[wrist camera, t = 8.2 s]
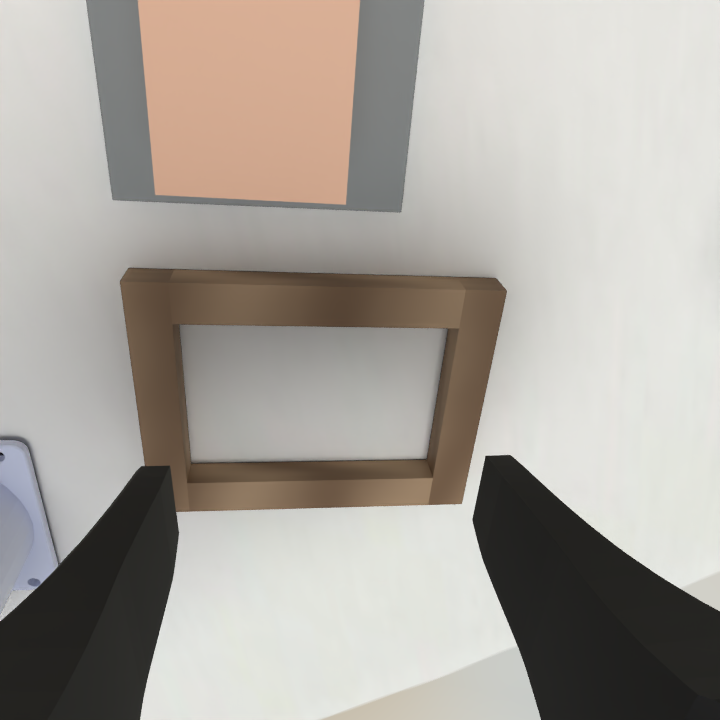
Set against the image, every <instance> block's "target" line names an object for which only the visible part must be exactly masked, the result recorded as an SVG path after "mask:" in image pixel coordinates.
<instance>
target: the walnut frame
mask: <svg viewBox="0 0 720 720" xmlns="http://www.w3.org/2000/svg"><path fill="white" fill-rule="evenodd" d="M120 285H121V293H122V300H123V307H124V315H125V322H126V329H127V337H128V344H129V351H130V359H131V366H132V373H133V381H134V388H135V395H136V403H137V410H138V417H139V425H140V432H141V440H142V447H143V454H144V462H145V466H169V465H170V468H171V476H172V484H173V492H174V499H175V507H176V512H188V511H224V510H260V509H296V508H332V507H368V506H404V505H440V504H462V500H463V496H464V491H465V486H466V482H467V477H468V472H469V467H470V463H471V458H472V453H473V449H474V444H475V439H476V435H477V430H478V425H479V420H480V416H481V411H482V406H483V402H484V397H485V392H486V388H487V383H488V378H489V373H490V369H491V364H492V359H493V355H494V350H495V345H496V340H497V336H498V331H499V326H500V322H501V317H502V312H503V308H504V303H505V298H506V293H507V290H506V289H505V288H504V287H503V286H502V284H501V283H500V282H499V281H498V280H497V279H496V278H469V277H433V276H396V275H360V274H324V273H287V272H251V271H214V270H178V269H142V268H128V270H127V271H126V273H125V274H124V276H123V278H122V279H121V281H120ZM179 324H188V325H255V326H322V327H389V328H448V334H447V340H446V346H445V352H444V358H443V364H442V370H441V376H440V383H439V389H438V395H437V401H436V407H435V413H434V419H433V425H432V431H431V437H430V443H429V449H428V455H427V460H381V461H322V462H263V463H204V464H191V457H190V445H189V434H188V422H187V411H186V399H185V388H184V376H183V365H182V353H181V342H180V330H179Z"/></svg>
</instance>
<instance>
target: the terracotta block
mask: <svg viewBox="0 0 720 720" xmlns="http://www.w3.org/2000/svg"><path fill="white" fill-rule="evenodd" d="M138 9H139V20H140V31H141V42H142V53H143V65H144V76H145V87H146V98H147V109H148V120H149V131H150V143H151V154H152V165H153V176H154V187H155V195H167V196H187V197H206V198H226V199H245V200H265V201H284V202H304V203H323V204H343V205H346V196H347V182H348V167H349V153H350V139H351V124H352V110H353V95H354V81H355V66H356V52H357V37H358V23H359V9H360V0H138Z"/></svg>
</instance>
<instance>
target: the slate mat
mask: <svg viewBox="0 0 720 720" xmlns="http://www.w3.org/2000/svg"><path fill="white" fill-rule="evenodd" d="M86 3H87V11H88V18H89V26H90V33H91V41H92V48H93V56H94V63H95V71H96V79H97V86H98V94H99V101H100V109H101V116H102V124H103V131H104V139H105V146H106V154H107V161H108V169H109V176H110V184H111V191H112V199H113V200H121V201H144V202H168V203H191V204H215V205H238V206H262V207H285V208H308V209H332V210H355V211H379V212H401V209H402V200H403V191H404V182H405V173H406V163H407V154H408V145H409V136H410V127H411V118H412V108H413V99H414V90H415V81H416V72H417V63H418V53H419V44H420V35H421V26H422V17H423V8H424V0H360V9H359V23H358V37H357V52H356V66H355V81H354V95H353V110H352V124H351V139H350V153H349V167H348V182H347V196H346V205H343V204H323V203H304V202H284V201H265V200H245V199H226V198H206V197H187V196H167V195H155V187H154V176H153V165H152V154H151V143H150V131H149V120H148V109H147V98H146V87H145V76H144V65H143V53H142V42H141V31H140V20H139V9H138V0H86Z"/></svg>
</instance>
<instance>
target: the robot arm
mask: <svg viewBox="0 0 720 720" xmlns="http://www.w3.org/2000/svg"><path fill="white" fill-rule="evenodd" d="M0 452H1V453H3V454H4V455H0V614H1V612H2V610H3V608H4V606H5V604H6V601H7V599H8V597H9V595H10V593H11V591H12V590H33V589H35V590H34V591H33V592H32V593H31V594H30V595H29V596H28V597H27V598H26V599H25V600H24V601H23V602H21V603H20V604H19V605H18V606H17V607H16V608H15V609H14V610H13V611H12V612H11V613H9V614H8V615H7V616H6V617H5V618H4V619H2V620H1V621H0V720H140V715H141V709H142V703H143V697H144V692H145V688H146V683H147V678H148V674H149V670H150V666H151V662H152V658H153V654H154V651H155V647H156V643H157V639H158V635H159V631H160V627H161V623H162V619H163V616H164V612H165V608H166V604H167V600H168V596H169V592H170V588H171V584H172V580H173V575H174V567H175V560H176V553H177V545H178V536H179V530H178V523H177V515H176V507H175V499H174V492H173V484H172V476H171V468H170V465H169V466H141V467H140V468H139V469H138V470H137V471H136V472H135V474H134V475H133V476H132V478H131V479H130V481H129V482H128V483H127V485H126V486H125V487H124V489H123V490H122V491H121V493H120V494H119V495H118V497H117V498H116V499H115V500H114V502H113V503H112V504H111V506H110V507H109V508H108V509H107V511H106V512H105V513H104V514H103V516H102V517H101V518H100V519H99V520H98V522H97V523H96V524H95V525H94V526H93V528H92V529H91V530H90V531H89V532H88V534H87V535H86V536H85V537H84V538H83V540H82V541H81V542H80V543H79V544H78V545H77V546H76V547H75V548H74V550H73V551H72V552H71V553H70V554H69V555H68V556H67V557H66V558H65V559H64V560H63V562H62V563H61V564H60V565H59V566H58V562H57V558H56V554H55V550H54V546H53V542H52V538H51V535H50V531H49V527H48V523H47V519H46V515H45V511H44V507H43V503H42V499H41V496H40V492H39V488H38V484H37V480H36V476H35V472H34V468H33V464H32V461H31V457H30V453H29V450H28V448H27V446H26V445H25V444H23V443H21V442H19V441H15V440H0ZM473 524H474V528H475V532H476V536H477V540H478V544H479V548H480V551H481V555H482V559H483V562H484V564H485V567H486V569H487V572H488V574H489V577H490V579H491V582H492V584H493V587H494V589H495V592H496V594H497V597H498V599H499V601H500V604H501V606H502V609H503V611H504V614H505V616H506V618H507V621H508V623H509V626H510V628H511V631H512V633H513V636H514V638H515V640H516V643H517V645H518V647H519V650H520V653H521V656H522V659H523V661H524V664H525V667H526V670H527V674H528V677H529V680H530V684H531V687H532V690H533V693H534V697H535V700H536V704H537V707H538V710H539V713H540V717H541V720H720V611H718V610H716V609H714V608H712V607H710V606H709V605H707V604H705V603H703V602H701V601H700V600H698V599H696V598H695V597H693V596H691V595H689V594H688V593H686V592H685V591H683V590H681V589H679V588H678V587H676V586H674V585H673V584H671V583H670V582H668V581H666V580H665V579H663V578H662V577H660V576H658V575H657V574H655V573H654V572H652V571H651V570H650V569H648V568H647V567H645V566H644V565H642V564H641V563H639V562H638V561H636V560H635V559H633V558H632V557H631V556H629V555H628V554H626V553H625V552H624V551H622V550H621V549H619V548H618V547H617V546H615V545H614V544H613V543H612V542H610V541H609V540H608V539H606V538H605V537H604V536H603V535H601V534H600V533H599V532H597V531H596V530H595V529H594V528H592V527H591V526H590V525H589V524H588V523H586V522H585V521H584V520H583V519H582V518H580V517H579V516H578V515H577V514H576V513H574V512H573V511H572V510H571V509H570V508H569V507H568V506H566V505H565V504H564V503H563V502H562V501H561V500H560V499H558V498H557V497H556V496H555V495H554V494H553V493H552V492H551V491H550V490H548V489H547V488H546V487H545V486H544V485H543V484H542V483H541V482H540V481H539V480H538V479H536V478H535V477H534V476H533V475H532V474H531V473H530V472H529V471H528V470H527V469H526V468H525V467H523V466H522V465H521V464H520V463H519V462H518V461H517V460H516V459H514V458H513V457H512V456H511V455H499V456H486V457H485V462H484V467H483V472H482V476H481V481H480V486H479V491H478V496H477V500H476V505H475V510H474V515H473Z"/></svg>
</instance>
